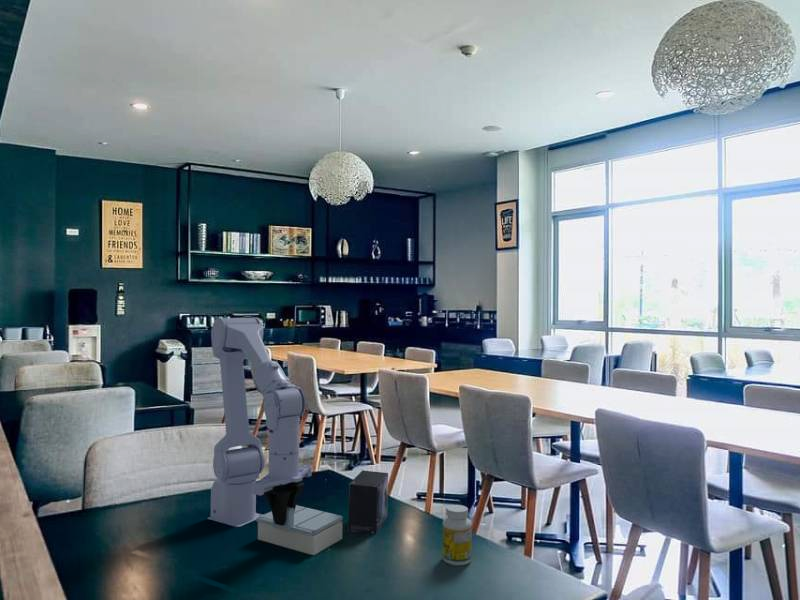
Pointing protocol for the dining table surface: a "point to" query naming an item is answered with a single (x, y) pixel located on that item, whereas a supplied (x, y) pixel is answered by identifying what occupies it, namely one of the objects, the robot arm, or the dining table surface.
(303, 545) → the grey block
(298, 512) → the lid
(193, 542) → the dining table surface
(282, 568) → the dining table surface
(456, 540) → the supplement bottle
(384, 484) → the small box
